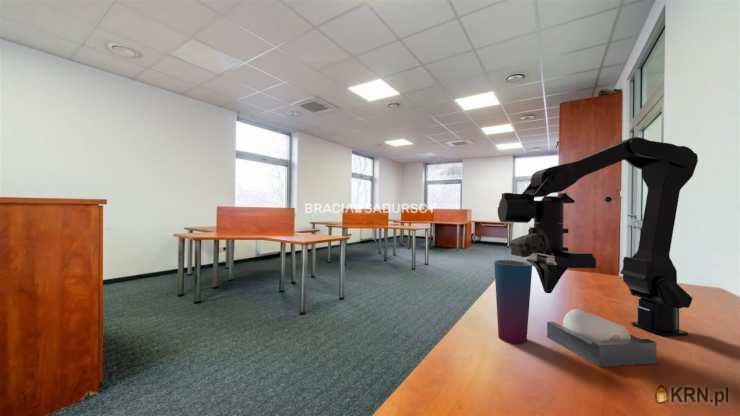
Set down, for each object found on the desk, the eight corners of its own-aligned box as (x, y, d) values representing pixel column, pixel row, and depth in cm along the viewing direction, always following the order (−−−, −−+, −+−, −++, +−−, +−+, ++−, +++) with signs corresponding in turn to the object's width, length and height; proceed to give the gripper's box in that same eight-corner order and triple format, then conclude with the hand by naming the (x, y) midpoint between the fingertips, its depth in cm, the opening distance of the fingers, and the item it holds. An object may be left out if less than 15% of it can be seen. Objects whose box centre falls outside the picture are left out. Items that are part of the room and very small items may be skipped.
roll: (562, 339, 57) (562, 309, 57) (589, 338, 58) (589, 308, 58) (600, 360, 49) (600, 325, 49) (631, 358, 50) (631, 323, 50)
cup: (537, 348, 53) (537, 266, 53) (497, 344, 54) (498, 264, 55) (525, 333, 60) (525, 260, 60) (490, 330, 61) (490, 259, 61)
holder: (594, 334, 59) (594, 317, 59) (656, 363, 48) (656, 341, 48) (547, 336, 58) (547, 318, 58) (599, 366, 47) (599, 344, 47)
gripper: (492, 221, 73) (491, 283, 73) (547, 224, 55) (546, 307, 54) (532, 222, 75) (531, 282, 74) (598, 225, 56) (598, 305, 56)
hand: (547, 292), depth 65 cm, fingers closed
